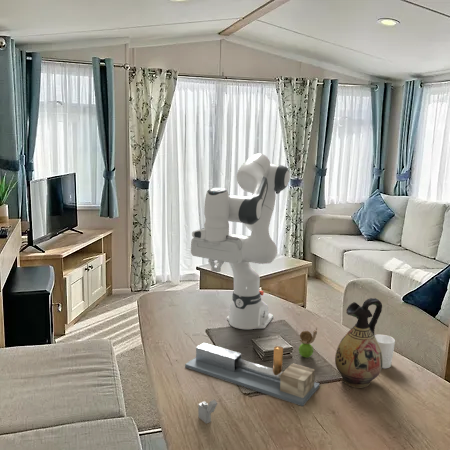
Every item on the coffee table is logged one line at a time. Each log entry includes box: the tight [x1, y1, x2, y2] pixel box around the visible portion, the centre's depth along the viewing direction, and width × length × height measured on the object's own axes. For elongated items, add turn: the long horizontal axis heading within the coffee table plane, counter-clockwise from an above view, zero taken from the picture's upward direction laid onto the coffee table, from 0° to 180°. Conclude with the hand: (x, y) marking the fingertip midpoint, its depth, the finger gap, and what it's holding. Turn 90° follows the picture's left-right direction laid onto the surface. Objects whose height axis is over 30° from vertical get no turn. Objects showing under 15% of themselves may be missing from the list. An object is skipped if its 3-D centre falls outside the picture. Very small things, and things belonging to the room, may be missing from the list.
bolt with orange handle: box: [235, 345, 284, 381], centre depth 166 cm, size 3×24×11 cm, turn 58°
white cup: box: [374, 333, 396, 369], centre depth 180 cm, size 8×8×10 cm
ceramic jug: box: [334, 297, 383, 389], centre depth 166 cm, size 17×15×30 cm
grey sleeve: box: [195, 342, 243, 372], centre depth 176 cm, size 5×16×5 cm, turn 58°
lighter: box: [197, 399, 218, 424], centre depth 143 cm, size 7×2×8 cm, turn 38°
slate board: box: [184, 356, 320, 407], centre depth 170 cm, size 14×45×1 cm, turn 58°
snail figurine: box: [298, 327, 318, 359], centre depth 185 cm, size 5×6×12 cm
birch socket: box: [280, 362, 316, 398], centre depth 160 cm, size 9×8×6 cm
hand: (216, 271), depth 178 cm, fingers closed
